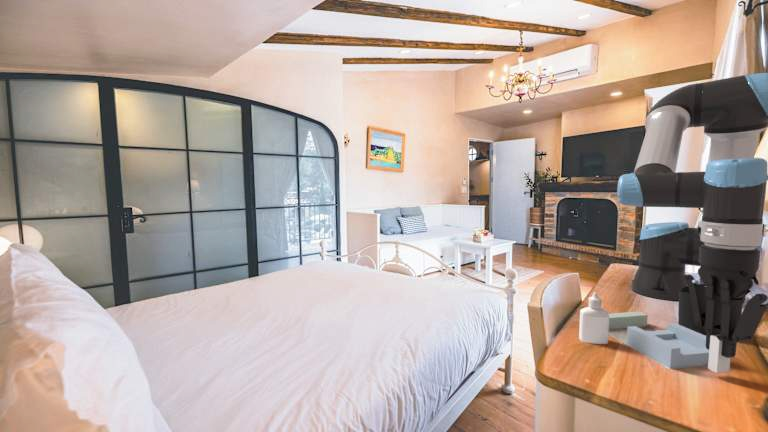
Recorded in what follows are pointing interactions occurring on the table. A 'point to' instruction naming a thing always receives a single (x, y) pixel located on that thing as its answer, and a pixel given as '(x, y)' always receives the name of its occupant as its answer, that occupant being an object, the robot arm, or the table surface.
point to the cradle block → (670, 345)
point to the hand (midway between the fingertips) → (718, 369)
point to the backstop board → (626, 321)
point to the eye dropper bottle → (594, 322)
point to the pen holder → (687, 311)
